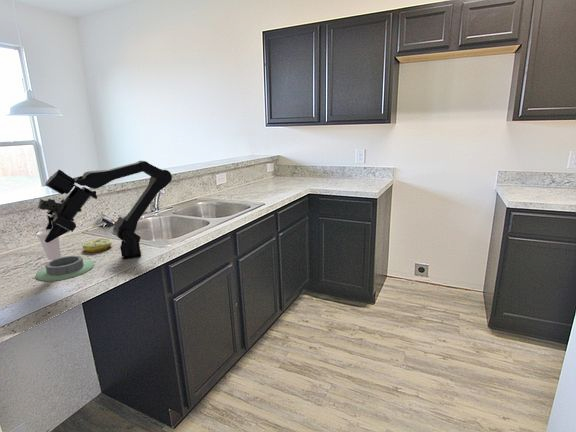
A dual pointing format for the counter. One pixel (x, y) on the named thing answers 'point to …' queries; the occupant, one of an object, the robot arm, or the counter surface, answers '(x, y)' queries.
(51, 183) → the robot arm
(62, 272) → the putting green cup
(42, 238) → the smoothie
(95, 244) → the decorated donut
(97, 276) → the counter surface
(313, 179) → the counter surface
